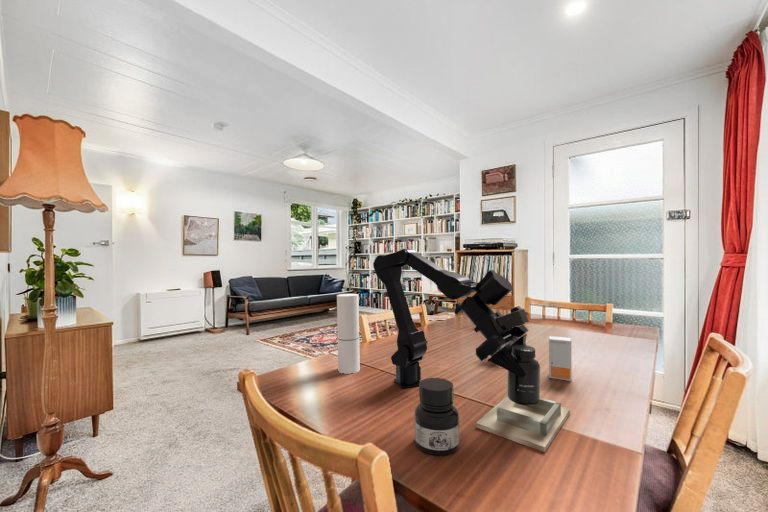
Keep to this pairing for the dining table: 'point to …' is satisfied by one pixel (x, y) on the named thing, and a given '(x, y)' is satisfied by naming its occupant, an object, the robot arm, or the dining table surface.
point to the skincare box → (560, 358)
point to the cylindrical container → (348, 333)
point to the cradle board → (525, 422)
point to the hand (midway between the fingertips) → (529, 372)
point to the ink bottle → (436, 418)
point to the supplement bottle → (528, 386)
